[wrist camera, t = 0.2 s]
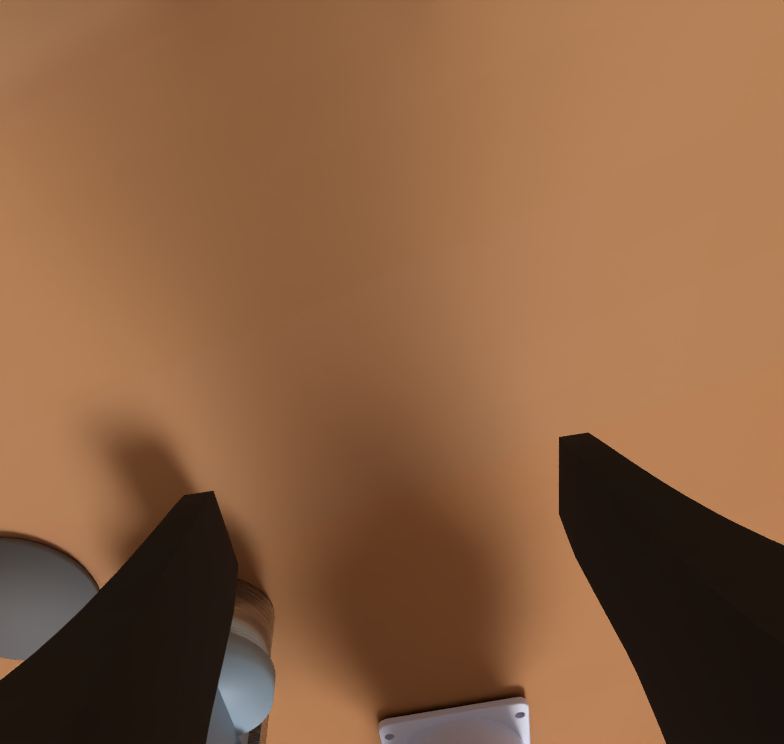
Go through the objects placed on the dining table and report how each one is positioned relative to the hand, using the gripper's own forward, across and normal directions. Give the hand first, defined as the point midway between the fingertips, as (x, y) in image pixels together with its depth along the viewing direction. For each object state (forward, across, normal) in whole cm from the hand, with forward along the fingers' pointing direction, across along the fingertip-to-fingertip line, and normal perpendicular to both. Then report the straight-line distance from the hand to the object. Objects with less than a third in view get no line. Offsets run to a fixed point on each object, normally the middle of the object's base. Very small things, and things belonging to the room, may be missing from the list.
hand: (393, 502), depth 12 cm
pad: (+10, +17, +10) cm, 22 cm away
